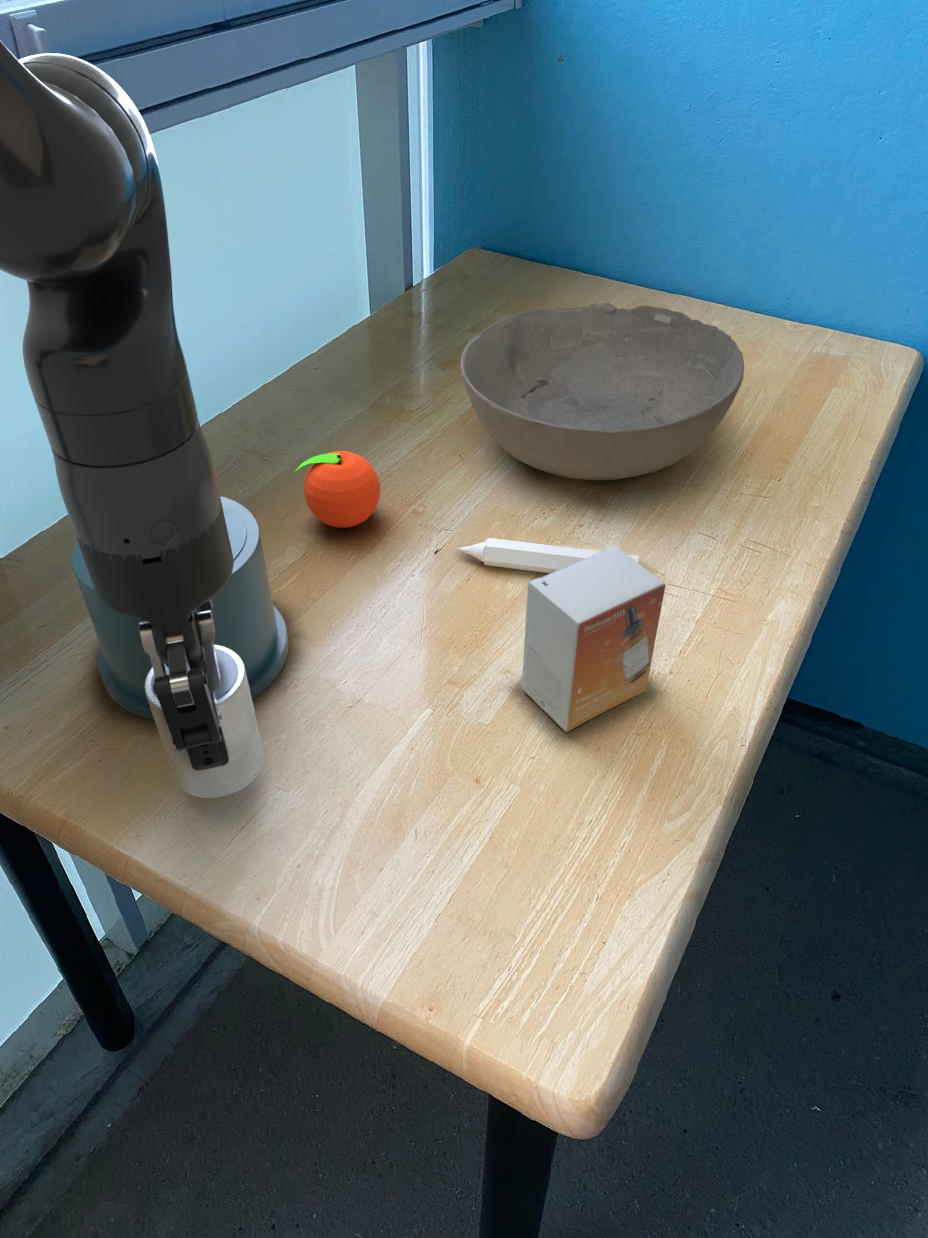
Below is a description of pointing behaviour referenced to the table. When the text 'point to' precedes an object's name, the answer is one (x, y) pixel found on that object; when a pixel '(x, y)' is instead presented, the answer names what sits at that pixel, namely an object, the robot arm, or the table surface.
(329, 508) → the clementine
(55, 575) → the table surface
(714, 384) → the bowl
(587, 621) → the small box
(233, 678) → the cup
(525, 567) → the white pencil
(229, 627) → the blue flanged cylinder
